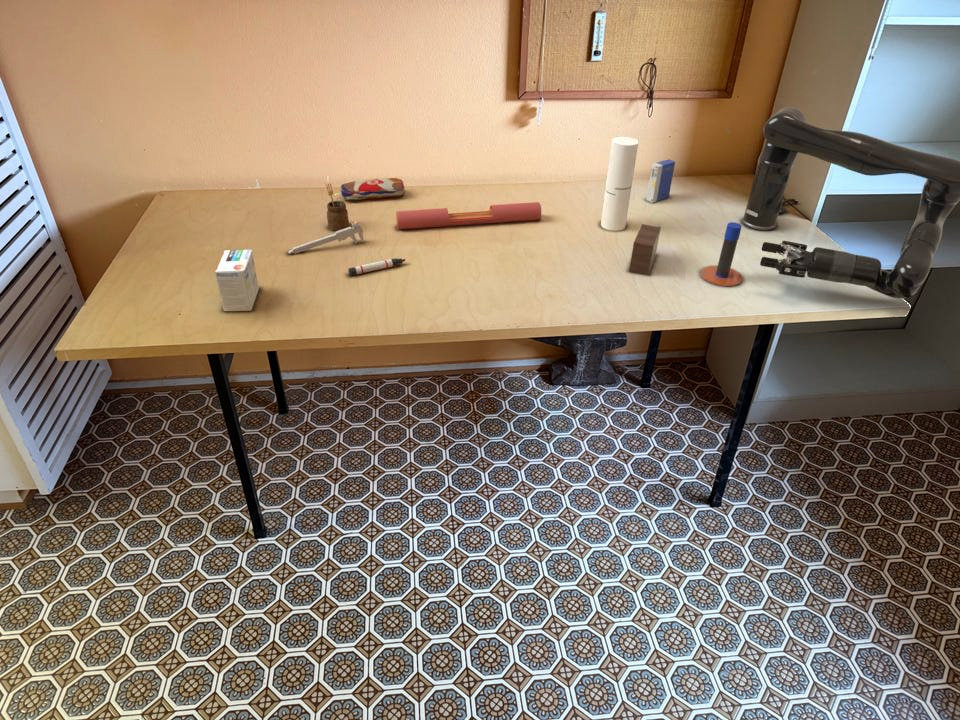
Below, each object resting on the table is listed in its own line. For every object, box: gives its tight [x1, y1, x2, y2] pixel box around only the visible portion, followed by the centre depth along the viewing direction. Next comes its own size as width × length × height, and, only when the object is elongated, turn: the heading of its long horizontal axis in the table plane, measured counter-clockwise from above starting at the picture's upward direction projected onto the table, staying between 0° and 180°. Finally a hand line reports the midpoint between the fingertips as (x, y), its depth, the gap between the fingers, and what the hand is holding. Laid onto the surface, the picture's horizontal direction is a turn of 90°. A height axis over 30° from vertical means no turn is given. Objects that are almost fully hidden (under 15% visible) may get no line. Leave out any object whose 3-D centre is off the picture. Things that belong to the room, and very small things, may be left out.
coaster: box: [701, 265, 743, 287], centre depth 182 cm, size 10×10×1 cm
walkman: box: [645, 158, 676, 204], centre depth 219 cm, size 8×3×12 cm, turn 127°
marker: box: [347, 257, 406, 276], centre depth 181 cm, size 15×2×2 cm, turn 117°
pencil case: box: [339, 177, 406, 201], centre depth 218 cm, size 11×20×5 cm, turn 89°
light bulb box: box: [214, 249, 260, 312], centre depth 165 cm, size 11×7×11 cm, turn 5°
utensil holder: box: [325, 182, 350, 232], centre depth 198 cm, size 6×6×12 cm
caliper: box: [287, 220, 364, 255], centre depth 189 cm, size 20×1×6 cm, turn 113°
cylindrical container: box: [600, 136, 639, 232], centre depth 199 cm, size 7×7×25 cm
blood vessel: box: [395, 201, 542, 230], centre depth 204 cm, size 42×5×5 cm, turn 102°
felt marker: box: [716, 221, 743, 278], centre depth 178 cm, size 3×12×12 cm
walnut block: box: [628, 223, 662, 276], centre depth 185 cm, size 12×5×8 cm, turn 159°
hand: (761, 253), depth 175 cm, fingers open, 8 cm apart
